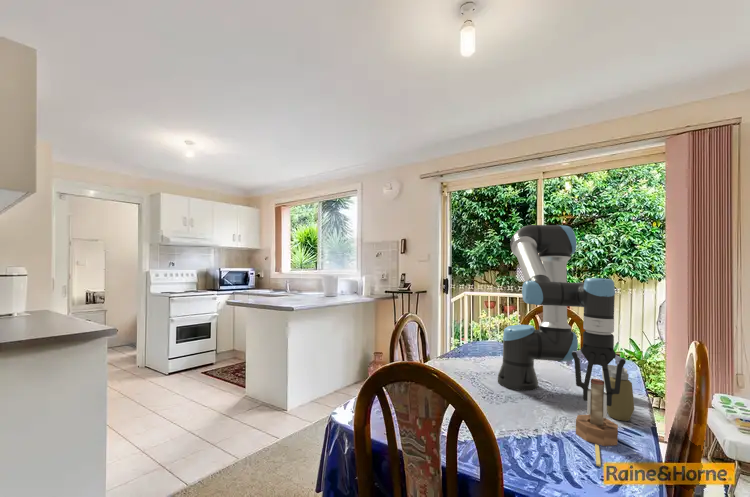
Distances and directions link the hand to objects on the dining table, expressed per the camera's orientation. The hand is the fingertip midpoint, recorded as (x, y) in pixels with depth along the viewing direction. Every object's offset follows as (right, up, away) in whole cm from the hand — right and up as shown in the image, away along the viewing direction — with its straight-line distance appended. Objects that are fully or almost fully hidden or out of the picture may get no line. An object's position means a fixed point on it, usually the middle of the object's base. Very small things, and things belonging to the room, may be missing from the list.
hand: (596, 414), depth 104 cm
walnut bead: (0, -6, 0) cm, 6 cm away
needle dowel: (0, -6, 0) cm, 6 cm away
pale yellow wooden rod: (-6, -6, -10) cm, 13 cm away
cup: (+27, -8, +34) cm, 45 cm away
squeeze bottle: (+15, -7, +14) cm, 22 cm away
